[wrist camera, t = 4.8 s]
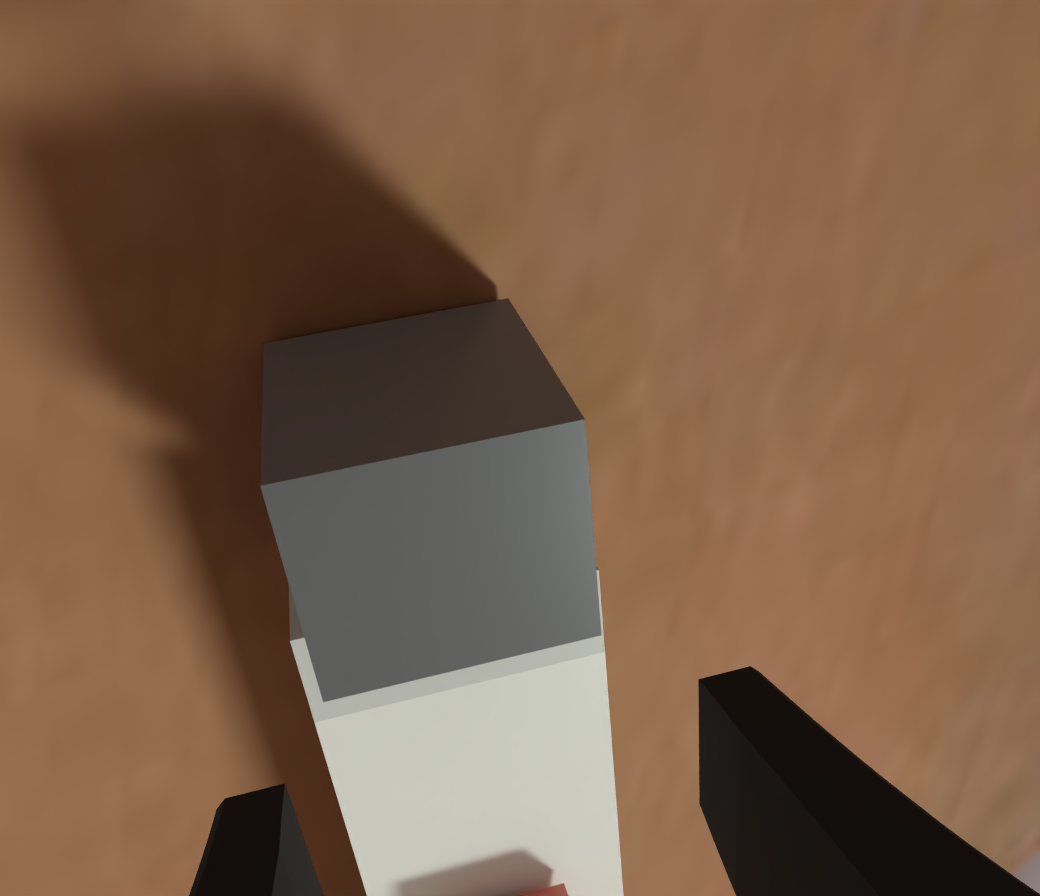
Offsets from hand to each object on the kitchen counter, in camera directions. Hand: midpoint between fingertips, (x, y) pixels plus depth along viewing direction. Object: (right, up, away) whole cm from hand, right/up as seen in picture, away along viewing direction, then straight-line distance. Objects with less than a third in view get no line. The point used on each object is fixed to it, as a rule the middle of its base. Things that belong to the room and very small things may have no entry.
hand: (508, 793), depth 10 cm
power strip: (-1, -4, +13) cm, 14 cm away
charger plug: (-2, +3, +8) cm, 9 cm away
